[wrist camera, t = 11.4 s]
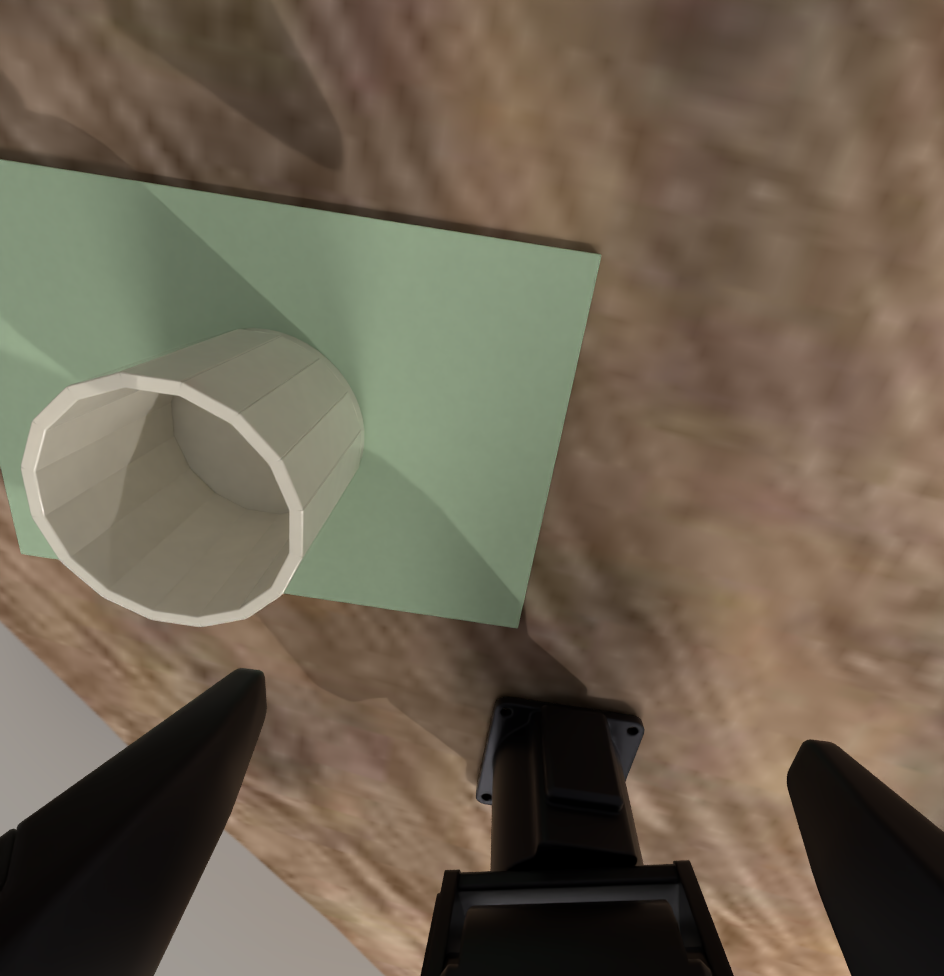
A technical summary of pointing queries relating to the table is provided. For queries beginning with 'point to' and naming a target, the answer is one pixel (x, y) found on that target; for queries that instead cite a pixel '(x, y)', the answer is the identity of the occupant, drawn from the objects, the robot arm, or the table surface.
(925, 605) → the table surface
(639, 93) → the table surface
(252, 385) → the cup
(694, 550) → the table surface
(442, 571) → the felt mat
